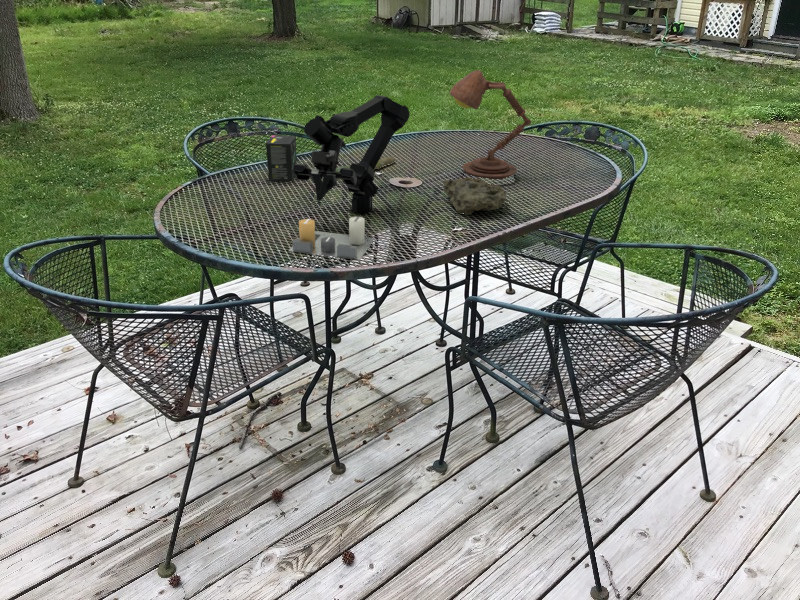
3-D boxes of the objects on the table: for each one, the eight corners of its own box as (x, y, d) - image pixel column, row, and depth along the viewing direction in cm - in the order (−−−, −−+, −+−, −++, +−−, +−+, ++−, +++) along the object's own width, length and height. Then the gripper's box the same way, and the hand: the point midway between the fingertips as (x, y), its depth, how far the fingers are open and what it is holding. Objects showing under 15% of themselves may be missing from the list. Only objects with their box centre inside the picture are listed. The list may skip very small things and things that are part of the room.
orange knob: (303, 240, 189) (302, 217, 185) (317, 242, 188) (316, 219, 184) (297, 246, 185) (296, 223, 181) (312, 248, 184) (311, 224, 181)
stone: (440, 196, 232) (441, 173, 228) (491, 193, 236) (493, 171, 232) (460, 221, 211) (462, 196, 207) (516, 217, 215) (519, 193, 211)
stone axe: (394, 152, 266) (396, 166, 238) (395, 164, 268) (397, 180, 240) (332, 157, 266) (326, 172, 238) (333, 169, 268) (327, 185, 240)
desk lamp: (438, 170, 258) (444, 65, 239) (514, 168, 264) (526, 65, 245) (451, 187, 240) (459, 74, 221) (533, 185, 246) (547, 74, 227)
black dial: (323, 246, 186) (323, 235, 185) (337, 247, 186) (336, 237, 184) (319, 251, 183) (318, 241, 182) (332, 253, 182) (332, 242, 181)
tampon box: (274, 172, 250) (271, 134, 243) (297, 173, 250) (296, 135, 243) (267, 181, 240) (265, 142, 233) (292, 182, 240) (290, 143, 233)
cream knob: (351, 238, 191) (351, 215, 188) (366, 239, 191) (366, 216, 187) (347, 243, 188) (347, 220, 184) (362, 245, 187) (362, 222, 183)
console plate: (307, 233, 197) (307, 220, 195) (374, 241, 193) (374, 228, 191) (288, 254, 183) (287, 240, 181) (359, 263, 180) (359, 249, 178)
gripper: (292, 136, 188) (280, 184, 184) (354, 141, 185) (342, 190, 181) (303, 155, 199) (291, 201, 195) (361, 161, 196) (351, 208, 191)
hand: (318, 200), depth 190 cm, fingers closed
